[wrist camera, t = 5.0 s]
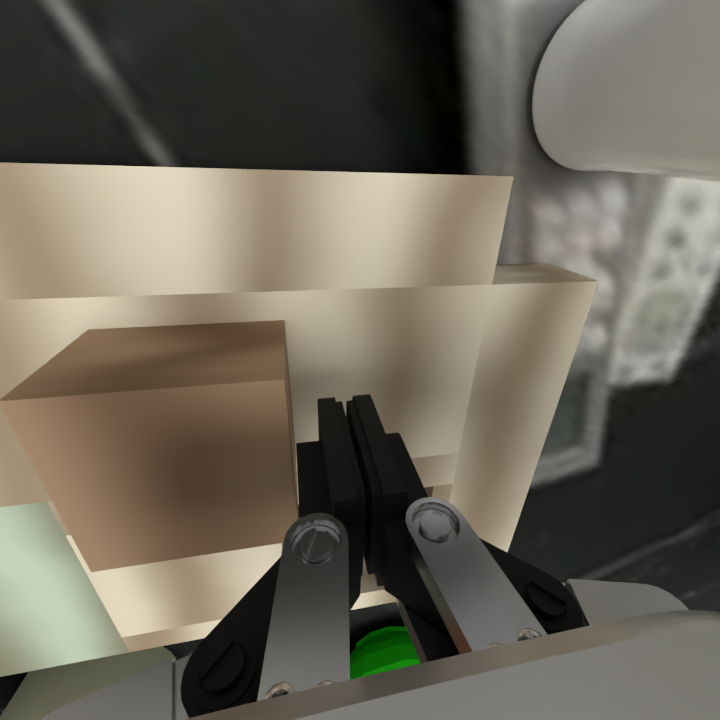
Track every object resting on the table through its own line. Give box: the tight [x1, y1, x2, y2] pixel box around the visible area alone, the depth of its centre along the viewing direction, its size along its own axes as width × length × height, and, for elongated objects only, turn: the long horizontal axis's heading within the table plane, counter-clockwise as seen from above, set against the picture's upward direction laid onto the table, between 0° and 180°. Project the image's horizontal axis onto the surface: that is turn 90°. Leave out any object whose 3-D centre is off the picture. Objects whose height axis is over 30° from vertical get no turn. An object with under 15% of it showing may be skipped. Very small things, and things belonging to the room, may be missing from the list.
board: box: [0, 163, 599, 677], centre depth 16 cm, size 32×23×3 cm
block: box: [0, 320, 298, 572], centre depth 11 cm, size 6×6×4 cm
